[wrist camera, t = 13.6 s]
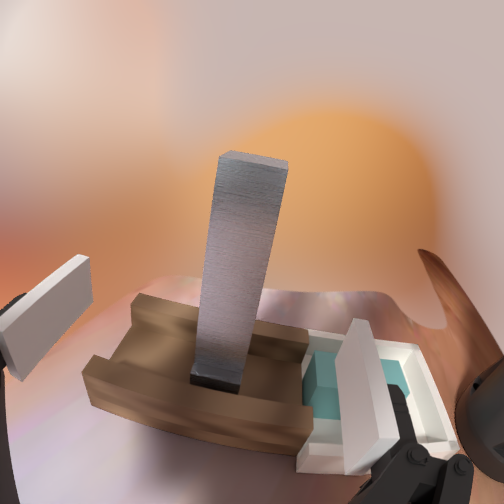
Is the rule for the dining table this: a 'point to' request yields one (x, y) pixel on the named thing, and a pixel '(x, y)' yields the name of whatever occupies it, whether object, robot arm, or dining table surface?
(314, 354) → the teal block
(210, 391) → the channel
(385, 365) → the teal cube
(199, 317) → the brushed metal bar
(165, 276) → the dining table surface
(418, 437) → the tray
